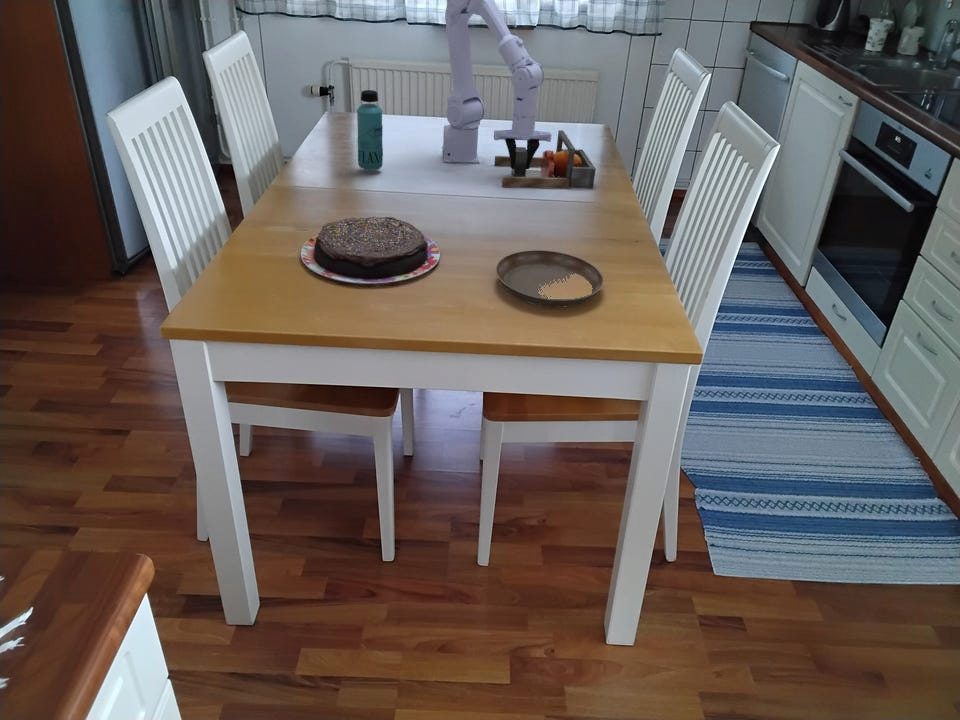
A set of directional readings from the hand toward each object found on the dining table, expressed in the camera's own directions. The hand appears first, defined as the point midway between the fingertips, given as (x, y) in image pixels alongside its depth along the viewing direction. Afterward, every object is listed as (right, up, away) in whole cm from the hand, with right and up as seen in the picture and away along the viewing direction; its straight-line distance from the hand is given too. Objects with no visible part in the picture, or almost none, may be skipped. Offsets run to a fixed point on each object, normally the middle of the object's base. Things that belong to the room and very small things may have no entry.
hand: (519, 167), depth 195 cm
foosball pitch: (+6, -2, +2) cm, 7 cm away
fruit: (+12, -2, +3) cm, 12 cm away
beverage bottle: (-38, -2, -2) cm, 39 cm away
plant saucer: (+3, -36, -50) cm, 62 cm away
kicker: (+3, -2, +2) cm, 4 cm away
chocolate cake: (-32, -30, -43) cm, 62 cm away
